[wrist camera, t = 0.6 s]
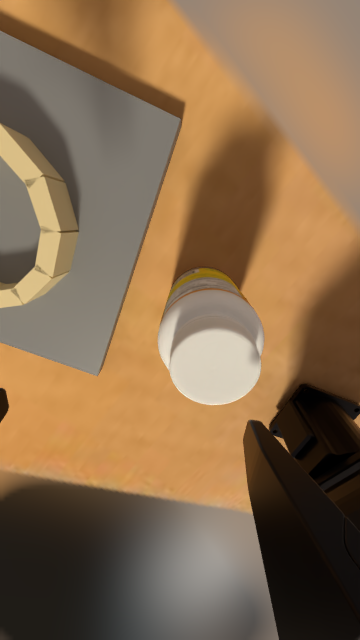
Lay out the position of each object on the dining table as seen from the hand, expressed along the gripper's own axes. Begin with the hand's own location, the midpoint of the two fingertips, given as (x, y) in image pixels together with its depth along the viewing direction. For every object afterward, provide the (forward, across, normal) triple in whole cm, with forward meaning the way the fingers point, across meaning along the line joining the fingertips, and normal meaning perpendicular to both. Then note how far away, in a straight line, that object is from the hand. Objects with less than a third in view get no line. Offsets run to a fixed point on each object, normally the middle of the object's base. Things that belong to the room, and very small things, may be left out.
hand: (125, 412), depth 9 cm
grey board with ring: (+12, +12, -6) cm, 18 cm away
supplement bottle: (+12, -3, -1) cm, 13 cm away
